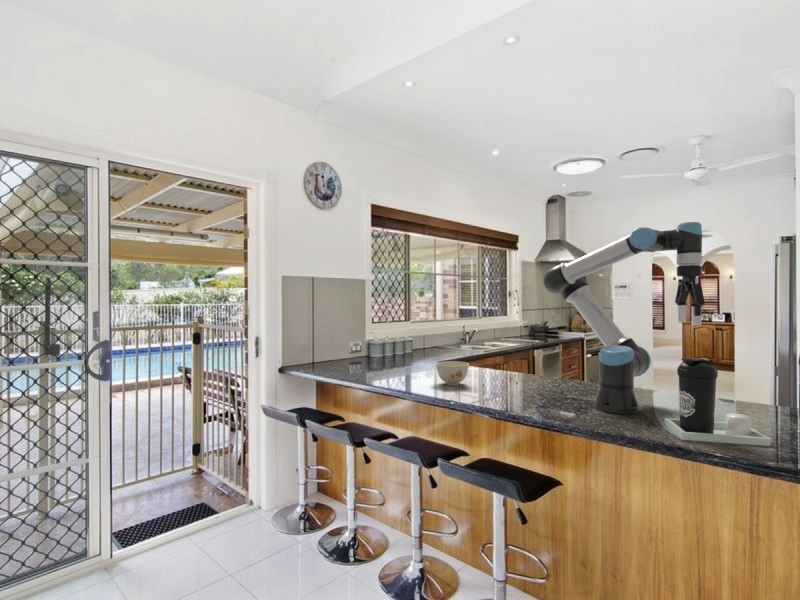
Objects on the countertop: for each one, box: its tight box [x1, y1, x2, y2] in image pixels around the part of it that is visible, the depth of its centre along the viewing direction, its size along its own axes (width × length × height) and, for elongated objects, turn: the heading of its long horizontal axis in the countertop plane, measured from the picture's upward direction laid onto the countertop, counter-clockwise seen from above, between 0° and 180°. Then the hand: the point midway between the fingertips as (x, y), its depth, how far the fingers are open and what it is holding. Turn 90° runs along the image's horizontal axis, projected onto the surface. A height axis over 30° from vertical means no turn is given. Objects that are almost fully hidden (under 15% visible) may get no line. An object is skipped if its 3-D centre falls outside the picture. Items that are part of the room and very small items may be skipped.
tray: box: [663, 417, 772, 447], centre depth 130 cm, size 22×15×3 cm
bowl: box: [435, 360, 470, 387], centre depth 206 cm, size 16×16×10 cm
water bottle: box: [676, 357, 719, 434], centre depth 131 cm, size 10×10×23 cm
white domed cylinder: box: [725, 413, 752, 436], centre depth 128 cm, size 6×6×6 cm
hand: (688, 323), depth 155 cm, fingers open, 13 cm apart
